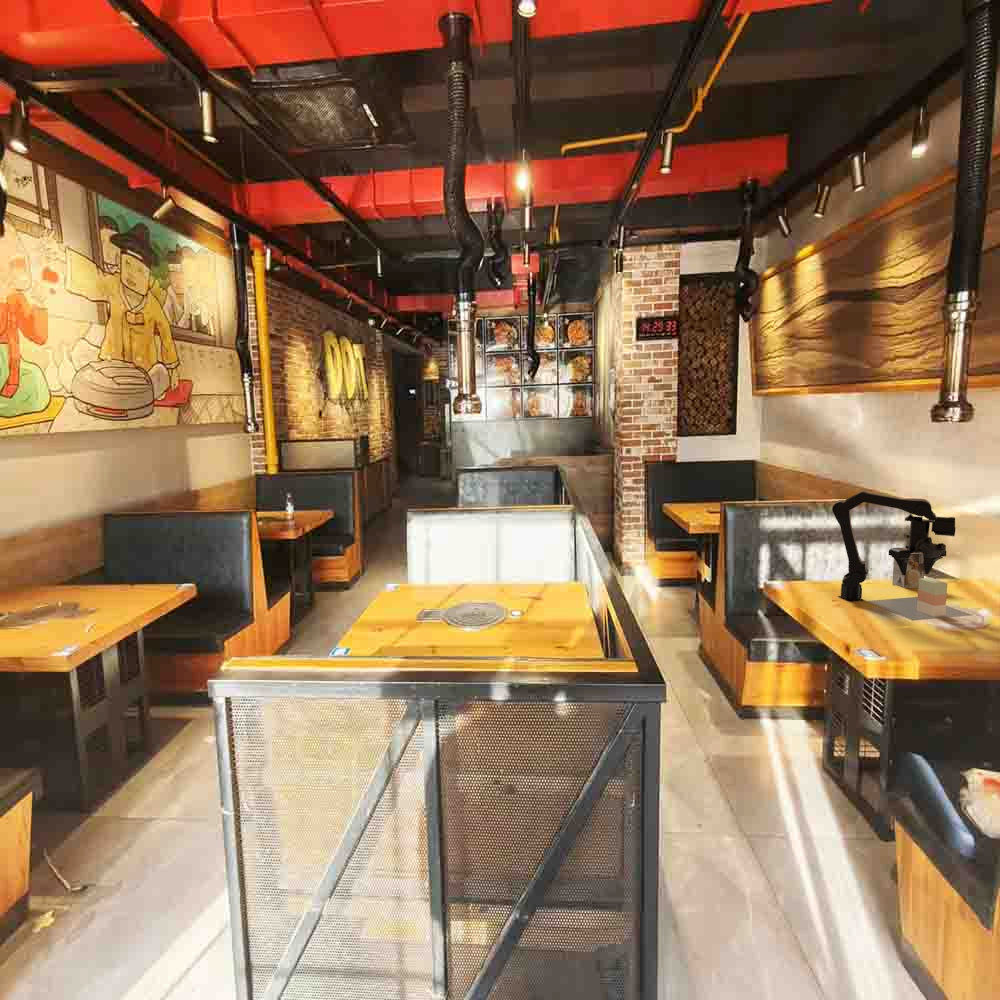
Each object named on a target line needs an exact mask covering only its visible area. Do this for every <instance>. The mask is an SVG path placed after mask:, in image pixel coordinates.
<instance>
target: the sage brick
mask: <svg viewBox="0 0 1000 1000" xmlns="http://www.w3.org/2000/svg"><path fill="white" fill-rule="evenodd" d="M948 584H949V583H948V582H945V581H941V580H940V579H935V578H933V577H924V578H921V579H919V587H917V590H918V589H919V590H922V591H925V592H928V593H931V594H934V595H941V594H948Z"/></svg>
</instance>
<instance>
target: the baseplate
mask: <svg viewBox="0 0 1000 1000" xmlns="http://www.w3.org/2000/svg"><path fill="white" fill-rule="evenodd" d="M865 602H866V603H867V604H871V605H873V606H876V607H878V608H880V609H883V610H886V611H888V612H890V613H893V614H895V615H899V616H901V617H903V618H905V619H908V620H910V621H921V620H923V621H925V620H933V619H935V620H936V619H944V618H945V619H946V618H957V617H967V616H973V614H971V613H969V612H966V611H962V610H959V609H957V608H954V607H952V606H949V605H947V604H946V605H939V606H933V605H930V604H927V603H925V602H922V601H919V600H918V596H911V597H909V596H908V597H900V598H898V597H897V598H888V599H887V598H886V599H875V600H874V599H873V600H865Z"/></svg>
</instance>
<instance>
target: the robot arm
mask: <svg viewBox="0 0 1000 1000" xmlns="http://www.w3.org/2000/svg"><path fill="white" fill-rule="evenodd" d="M863 503H867V504H872V505H878V506H882V507H883V506H884V507H888V508H894V509H896V510H897V509H898V510H901V511H904V512H906V513H908V516H906V517H904V521H905V522H906V521H907V522H909V523H910V526H909V534H906V538H908V544H907V545H905V547H906V549H908V550H906V549H903V548H904V547H891V548H889V549H888V556H890V557H891V558H893V560H894V559H895V561H896V562H897V564H898V566H899V568H900V571H901V573H902V575H904V576H905V575H906V571H907V563H908V562H909V561H910V560H911V559H909V557H910V556H911V555H919V554H923V559H924V575H929V574H930V572H931V570H932V568H933V566H934V565H935V563H936V562H937V561H939V560H940V559H941V560H942V559H943V557H947V550H946V549H947V545H946V544H945V543H943V542H941V543H933V539H932V537H930V536H929V535H930V531H931V533H933V534H934V535H935V536H944V537H945V536H946V537H955V536H956V517H955V516H946V517H945V516H937V515H936V513H935V512H934V511H933V509H932V505H931V502H930V501H929V500H927V499H926V498H913V497H912V498H907V497H905V498H902V497H896V496H890V495H885V494H880V493H874V492H869V491H867V490H861V491H859V492H858V493H856V494H854V495H851V496H850V497H848V498H846V499H840V500H837V501H835V503H834V504H833V505H832V508H831V511H832V513H833V515H834V518H835V520H836V521H837V523H838V525H839V526H840V527H839V528H840V532H841V536H842V539H843V543H844V546H845V551H846V554H847V555H846V556H847V559H848V560H847V561H848V567H847V568H848V569H847V570H848V572H847V573H846V574H845V575H843V577H842V581H841V584H840V585H841V587H840V595H838V596H837V598H839V599H841V600H843V601H846V602H849V603H850V602H861V601H862V602H863V601H864V599H863V596H862V595H863V587H862V583H863V582H865V580H866V579H867V575H868V574H869V571H870V570H869V568H868V566H867V561H866V560H862V559H861V557H860V553H859V550H858V545H857V542H856V538H855V534H854V529H853V525H852V510H853V509H854V508H857V507H858V506H860V505H861V504H863ZM914 515H915V516H914ZM925 518H926V519H925ZM930 524H931V530H930ZM864 602H865V601H864Z"/></svg>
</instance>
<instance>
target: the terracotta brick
mask: <svg viewBox="0 0 1000 1000" xmlns="http://www.w3.org/2000/svg"><path fill="white" fill-rule="evenodd" d="M947 594H948V593H947ZM947 594H941V595H934V594H931V593H928V592H925V591H922V590H919V589H918V588H917V597H918V600H919V601H922V602H925V603H927V604H930V605H933V606H939V605H946V606H947Z"/></svg>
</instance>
